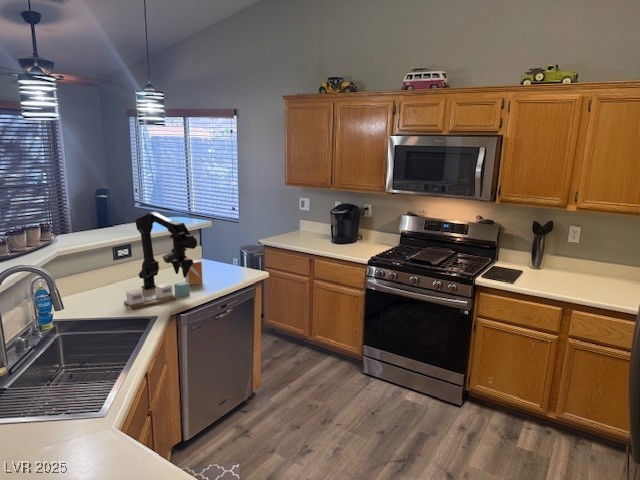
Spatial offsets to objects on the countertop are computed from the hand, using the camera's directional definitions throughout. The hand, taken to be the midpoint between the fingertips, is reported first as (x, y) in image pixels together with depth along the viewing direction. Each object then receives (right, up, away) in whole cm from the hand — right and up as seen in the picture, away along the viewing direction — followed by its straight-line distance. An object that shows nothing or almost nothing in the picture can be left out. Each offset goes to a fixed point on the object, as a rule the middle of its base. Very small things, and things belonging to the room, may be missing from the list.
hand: (180, 275), depth 234 cm
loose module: (0, -10, +2) cm, 11 cm away
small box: (+1, -6, +21) cm, 23 cm away
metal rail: (-12, -11, -9) cm, 19 cm away
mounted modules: (-12, -11, -10) cm, 19 cm away
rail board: (-12, -13, -9) cm, 20 cm away
